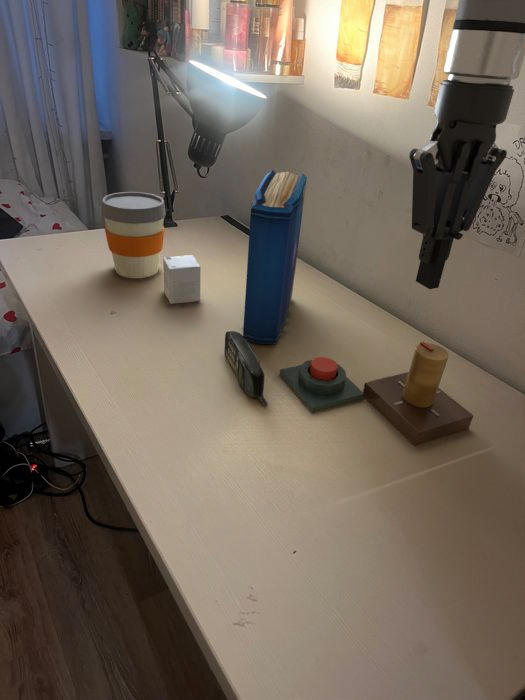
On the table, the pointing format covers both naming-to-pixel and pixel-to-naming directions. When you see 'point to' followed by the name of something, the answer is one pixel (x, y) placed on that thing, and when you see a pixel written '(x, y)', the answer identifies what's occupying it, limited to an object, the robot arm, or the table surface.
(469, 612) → the table surface
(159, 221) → the reusable coffee cup
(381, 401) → the plate
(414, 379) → the lock knob
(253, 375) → the mobile phone
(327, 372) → the bell button
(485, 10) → the robot arm
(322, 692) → the table surface
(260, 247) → the book
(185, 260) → the white cardboard box
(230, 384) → the table surface
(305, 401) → the push button base
